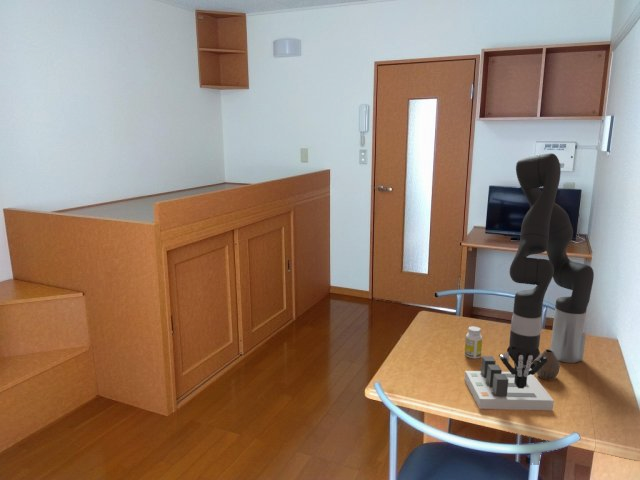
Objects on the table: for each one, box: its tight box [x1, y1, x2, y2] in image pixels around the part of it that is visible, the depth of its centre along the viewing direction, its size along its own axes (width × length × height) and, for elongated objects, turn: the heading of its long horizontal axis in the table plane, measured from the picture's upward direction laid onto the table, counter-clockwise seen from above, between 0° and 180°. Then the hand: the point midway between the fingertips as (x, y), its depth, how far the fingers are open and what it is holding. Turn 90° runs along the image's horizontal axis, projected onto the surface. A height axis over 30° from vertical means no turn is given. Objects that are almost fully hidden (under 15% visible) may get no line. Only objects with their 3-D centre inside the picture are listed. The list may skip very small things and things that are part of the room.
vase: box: [535, 348, 560, 381], centre depth 151 cm, size 7×7×9 cm
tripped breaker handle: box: [492, 374, 508, 396], centre depth 136 cm, size 3×3×5 cm
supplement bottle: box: [464, 325, 483, 359], centre depth 166 cm, size 5×5×10 cm
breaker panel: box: [464, 355, 555, 411], centre depth 141 cm, size 20×16×8 cm
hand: (519, 386), depth 136 cm, fingers closed
